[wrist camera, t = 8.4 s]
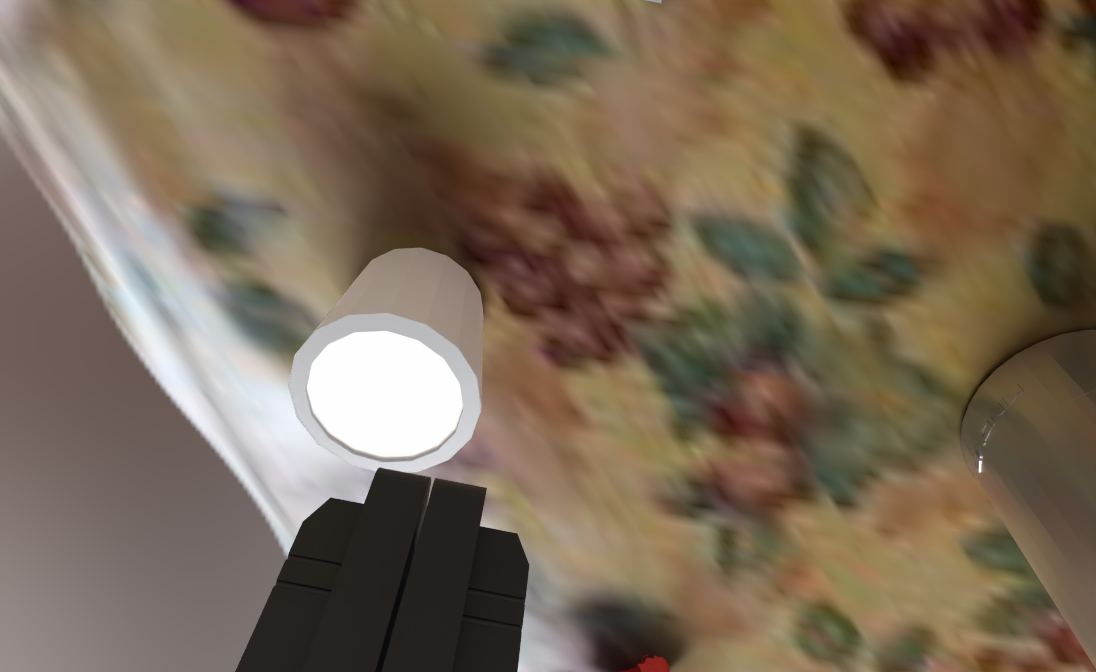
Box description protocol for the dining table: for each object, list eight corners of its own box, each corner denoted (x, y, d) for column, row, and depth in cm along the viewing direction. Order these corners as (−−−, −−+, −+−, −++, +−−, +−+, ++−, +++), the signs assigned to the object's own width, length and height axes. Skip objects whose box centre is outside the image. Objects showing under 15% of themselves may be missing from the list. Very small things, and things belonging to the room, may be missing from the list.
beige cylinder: (337, 366, 38) (289, 464, 32) (337, 222, 34) (284, 302, 28) (490, 385, 38) (473, 486, 32) (505, 244, 35) (489, 327, 28)
